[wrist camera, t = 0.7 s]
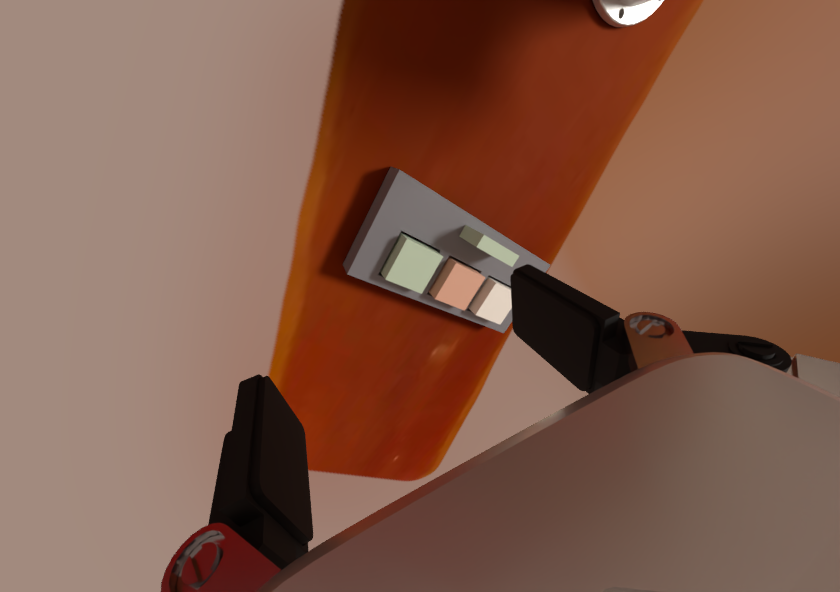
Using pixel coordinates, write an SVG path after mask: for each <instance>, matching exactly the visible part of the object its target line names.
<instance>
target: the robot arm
mask: <svg viewBox="0 0 840 592" xmlns="http://www.w3.org/2000/svg"><path fill="white" fill-rule="evenodd" d="M592 1H593V3H594V6H595V8H596V10H597V12H598V13H599V15H600V16H601V18H602V19H603V20H604V21H606V22H607V23H608V24H609V25H612V26H615V27H627V26H631V25H635V24H637V23H639V22H642V21H644V20H645V19H646V18H648V17H649V16H650V15H652V14H653V12H654V11H655V10H656V9H657V8H658V7H659V6H660V5H661V3H662V2H663V1H664V0H592ZM510 282H511V302H512V323H513V330H514V332H515V334H516V335H517V336H518V337H519V338H520V339H522V340H523V341H524V342H525V343H526V344H527V345H529V346H530V347H531V348H532V349H533V350H534V351H536V352H537V353H538V354H539V355H540V356H541V357H542V358H544V359H545V360H546V361H547V362H548V363H549V364H550V365H552V366H553V367H554V368H555V369H556V370H557V371H558V372H560V373H561V374H562V375H563V376H564V377H566V378H567V379H568V380H569V381H570V382H571V383H572V384H573V385H575V386H576V387H577V388H578V389H579V390H581V391H586V392H587V393H589V395H587V396H585V397H583V398H581V399H580V400H578V401H576V402H574V403H572V404H570V405H568V406H566V407H565V408H563V409H561V410H559V411H557V412H556V413H554V414H552V415H550V416H548V417H546V418H544V419H543V420H541V421H539V422H537V423H535V424H533V425H531V426H530V427H528V428H526V429H524V430H522V431H521V432H519V433H517V434H515V435H513V436H511V437H510V438H508V439H506V440H504V441H502V442H501V443H499V444H497V445H495V446H493V447H491V448H490V449H488V450H486V451H484V452H483V453H481V454H479V455H477V456H475V457H473V458H472V459H470V460H468V461H466V462H464V463H462V464H461V465H459V466H457V467H455V468H453V469H452V470H450V471H448V472H447V473H445V474H443V475H441V476H439V477H437V478H436V479H434V480H432V481H430V482H428V483H427V484H425V485H423V486H421V487H419V488H418V489H416V490H414V491H412V492H411V493H409V494H407V495H405V496H403V497H401V498H400V499H398V500H396V501H394V502H392V503H391V504H389V505H387V506H385V507H384V508H382V509H380V510H378V511H377V512H375V513H373V514H371V515H369V516H368V517H366V518H365V519H363V520H361V521H359V522H357V523H356V524H354V525H352V526H350V527H349V528H347V529H345V530H344V531H342V532H340V533H339V534H337V535H335V536H333V537H331V538H330V539H328V540H326V541H325V542H323V543H321V544H320V545H318V546H317V547H315V548H314V549H312V550H310V551H309V552H308V542H309V541H311V540H312V538H313V526H312V514H311V501H310V489H309V477H308V464H307V452H306V440H305V432H304V428H303V426H302V424H301V423H300V421H299V420H298V418H297V417H296V415H295V414H294V412H293V411H292V409H291V408H290V407H289V405H288V404H287V402H286V401H285V399H284V398H283V396H282V395H281V393H280V392H279V391H278V389H277V388H276V386H275V385H274V383H273V382H272V380H271V379H270V378H269V377H268V376H265V377H262V376H261V375H256V376H254V377H251V378H249V379H246V380H244V381H241V382H240V384H239V389H238V395H237V401H236V408H235V413H234V420H233V426H232V431H230V432H228V433H227V434H226V435H225V438H224V442H223V448H222V453H221V458H220V464H219V469H218V475H217V480H216V486H215V492H214V497H213V503H212V508H211V514H210V519H209V524H208V526H205V527H203V528H201V529H199V530H198V531H197V532H195V533H194V534H192V535H191V536H190V537H189V538H188V539H187V540H186V541H185V542H184V543H183V544H182V545H181V546H180V548H179V549H178V550H177V552H176V553H175V554H174V556H173V557H172V559H171V561H170V563H169V564H168V566H167V568H166V570H165V573H164V576H163V579H162V582H161V592H840V363H836V362H831V361H827V360H823V359H818V358H814V357H809V356H805V355H800V354H796V355H795V356H794V358H793V357H790V355H789V354H788V353H787V352H786V351H784V350H783V349H782V348H780V347H779V346H777V345H775V344H773V343H771V342H768V341H766V340H762V339H759V338H756V337H749V336H742V335H729V334H718V333H705V332H693V331H682V330H681V329H680V327H679V326H678V324H677V323H676V322H674V321H673V320H672V319H670V318H668V317H665V316H663V315H660V314H656V313H650V312H638V313H634V314H630V315H629V316H627V317H626V318H625V320H623V319H621V318H619V315H620V313H619V312H617V311H615V310H613V309H611V308H610V307H608V306H606V305H604V304H602V303H600V302H598V301H597V300H595V299H593V298H591V297H589V296H587V295H586V294H584V293H582V292H580V291H578V290H576V289H574V288H572V287H571V286H569V285H567V284H565V283H563V282H561V281H560V280H558V279H556V278H554V277H552V276H550V275H548V274H547V273H545V272H543V271H541V270H539V269H537V268H535V267H534V266H532V265H530V264H526V265H524V266H521V267H519V268H516V269H515V270H514V271H513V274H512V275H511V276H510Z"/></svg>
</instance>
